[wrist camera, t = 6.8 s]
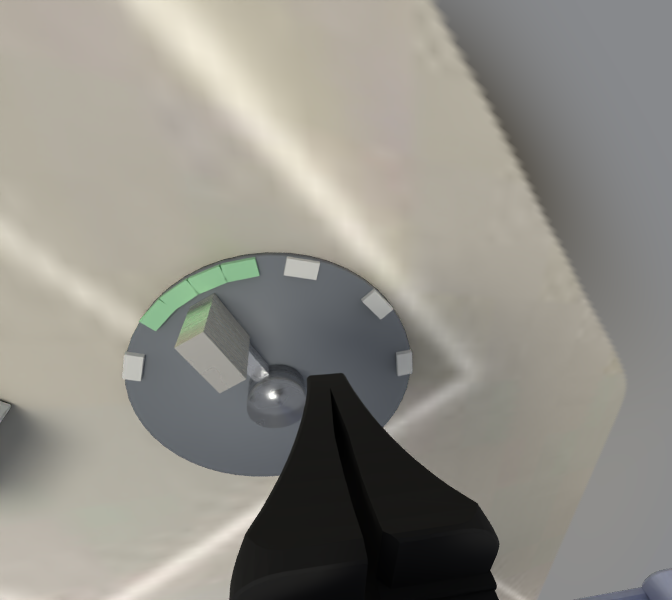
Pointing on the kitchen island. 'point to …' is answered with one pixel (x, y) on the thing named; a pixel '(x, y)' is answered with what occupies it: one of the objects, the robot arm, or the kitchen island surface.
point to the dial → (263, 355)
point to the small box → (4, 409)
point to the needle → (239, 364)
